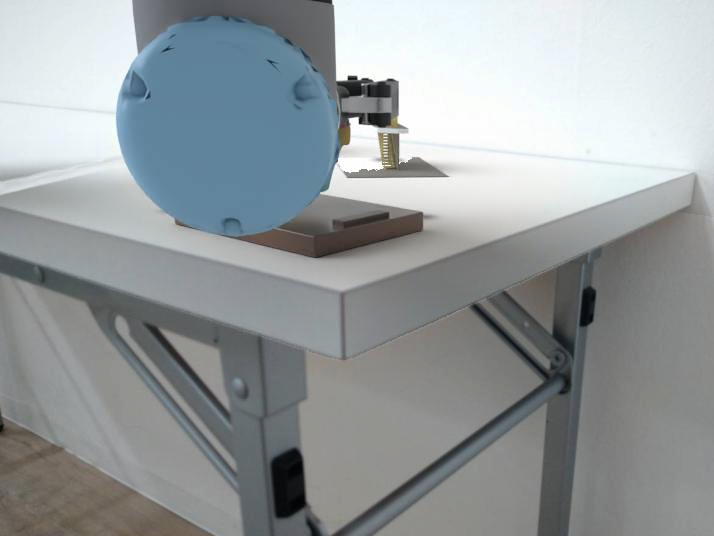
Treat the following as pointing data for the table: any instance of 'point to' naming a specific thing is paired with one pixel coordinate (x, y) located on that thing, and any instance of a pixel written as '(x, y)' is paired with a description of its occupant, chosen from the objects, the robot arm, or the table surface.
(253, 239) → the cutting board
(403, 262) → the table surface
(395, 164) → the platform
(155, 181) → the robot arm
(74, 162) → the table surface
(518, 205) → the table surface
